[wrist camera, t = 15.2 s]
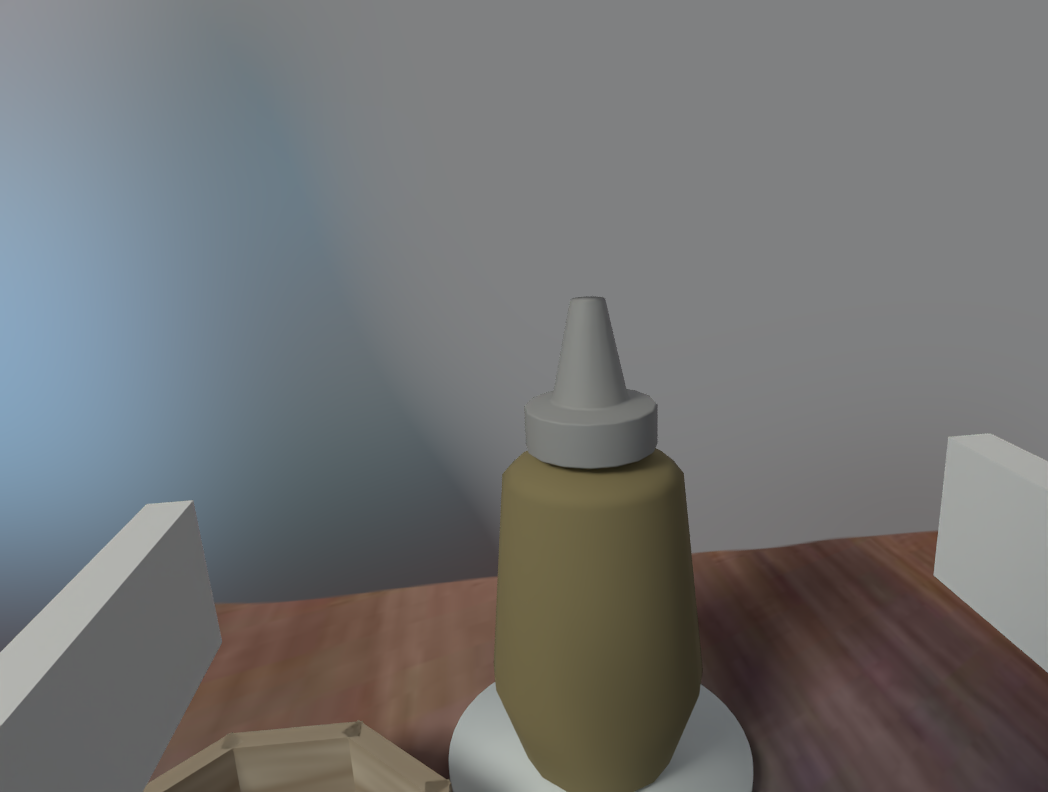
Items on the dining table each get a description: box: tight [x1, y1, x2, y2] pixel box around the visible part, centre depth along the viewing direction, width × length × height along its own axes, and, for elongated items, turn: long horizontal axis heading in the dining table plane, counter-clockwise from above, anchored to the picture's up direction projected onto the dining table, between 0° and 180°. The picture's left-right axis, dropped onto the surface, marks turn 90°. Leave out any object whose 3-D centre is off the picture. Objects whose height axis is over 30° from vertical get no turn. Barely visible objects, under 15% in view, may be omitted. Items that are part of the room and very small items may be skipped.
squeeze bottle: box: [494, 297, 702, 792], centre depth 28 cm, size 8×8×18 cm
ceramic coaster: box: [449, 682, 753, 792], centre depth 30 cm, size 12×12×1 cm
